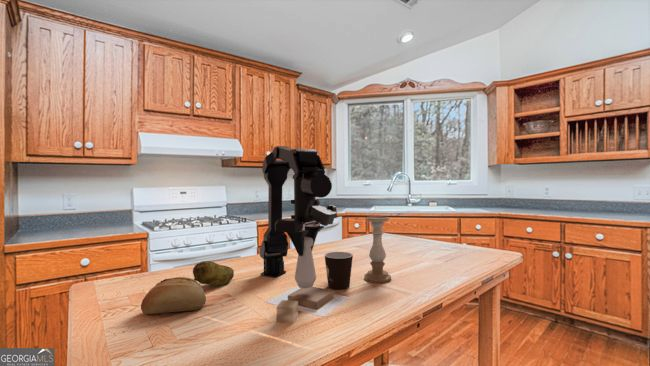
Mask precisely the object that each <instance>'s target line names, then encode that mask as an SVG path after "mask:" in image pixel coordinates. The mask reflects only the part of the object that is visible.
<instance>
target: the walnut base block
mask: <svg viewBox="0 0 650 366" xmlns="http://www.w3.org/2000/svg"><path fill="white" fill-rule="evenodd" d="M334 294H335V290H333V289H328V288H327V289H326V288H321V287H318V286H312V287H310V288H301V289H299V290H297V291H295V292H293V293H291V294H290V295H288V300H289V301H298V306H303V307H307V308H311V309H316V310H317V309H319V308H320V307H322V306H323V305H324V304H326V303H327V302H329V301H330V300H331V299H333V298H334Z"/></svg>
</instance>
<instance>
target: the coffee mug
mask: <svg viewBox="0 0 650 366" xmlns="http://www.w3.org/2000/svg"><path fill="white" fill-rule="evenodd" d="M324 261H325V262H324V263H325V269H326V270H325V271H326V279H327V286H328V288H329V290H333V291H344V290H347V289H349V288H350V284H351V276H352V266H353V254H352V253H351V252H348V251H332V252H331V251H330V252H326V253H324Z"/></svg>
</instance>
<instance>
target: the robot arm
mask: <svg viewBox="0 0 650 366" xmlns="http://www.w3.org/2000/svg"><path fill="white" fill-rule="evenodd" d="M261 169H262V174H263V179H264V180H265V182H266V184H267V186H268V201H267V202H268V206H267V207H268V217H267V218H268V222H267V223H268V225H267V226H268V227H267V229H266V230H265V232H264V233H263V239H262V242H261V244H260V247H259V257H260V258H261V259H263V272H261V273H260V275H261V276H267V277H273V278H277V277H279V276H281V275H283V274H286V273H287V271H286V270H285V260H284V257H287V256H288V249H289V242H288V237H289V239H290V241H291V243H292V244H293V246H294V249H295V251H296V252H297V256H298V255H299V256H303V251H304V237H311V238H312V239H313V246H311V250H312V251H313V250H314V246H315V243H316V239H317V236H318V233H319V232H321V230H323V229H324V228H325V227H327V226H328V225H333V224H334V220H335V219H337V218H338V212H337V206H335V205H333V204H329V205H328V206H322V205H320V199H321V198H325V197H327V196H328V195H330V193H331V191H332V187H333V183H332V181H331V178H329V176H328V175H327V174H326V172H325V171H326V170H325V165H324V164H323V162H322V160H321V156H320V155H319V154H318V151H317V150H316V149H309V148H306V149H305V148H292V147H289V146H284V145H283V146H282V145H277V146H274V147H273V150H272V151H271V152H270V153H269V154H267V155H266V156H265V157H264V160H263V162H262V168H261ZM290 170H292V172H293V173H294V174H293V175H292V179H293V199H291V200H290V204H291V205H294V206H293V208H294V209H293V210H294V212H293V214H291V215H290V218H289V217H287V218H283V186H284V184H285V183H286V181H287V179H288V173H290ZM316 198H319V199H316Z"/></svg>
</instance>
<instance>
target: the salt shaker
mask: <svg viewBox="0 0 650 366" xmlns="http://www.w3.org/2000/svg"><path fill="white" fill-rule="evenodd" d="M311 246H313V239H312V238H311V237H304V251H303V256H299V255H298V254H297V261H296V268H295V273H294V280H295V282H296V284H297V287H299V288H310V287H314V284H315V282H316V280H317V274H316V269H315V268H316V267H315V263H314V256H313V249H312V250H311ZM313 247H314V246H313Z"/></svg>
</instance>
